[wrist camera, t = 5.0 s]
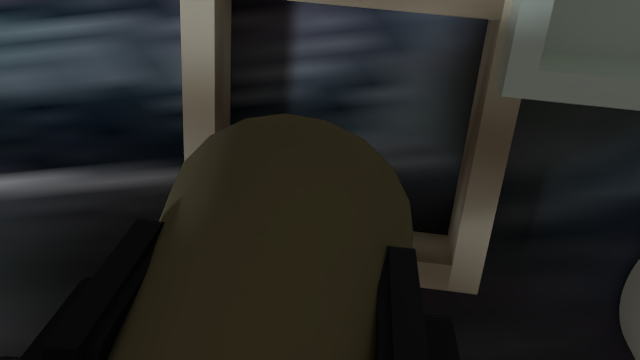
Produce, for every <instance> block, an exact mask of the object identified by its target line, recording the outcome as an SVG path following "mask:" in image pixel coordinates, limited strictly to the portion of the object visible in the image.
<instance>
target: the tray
mask: <svg viewBox="0 0 640 360" xmlns="http://www.w3.org/2000/svg"><path fill="white" fill-rule="evenodd" d="M495 85H496V87H497V89H498V91H499V93H500V95H501V97H511V98H521V99H530V100H540V101H550V102H560V103H569V104H579V105H589V106H598V107H608V108H618V109H627V110H637V111H640V0H513V1H512V6H511V11H510V16H509V21H508V26H507V30H506V35H505V40H504V45H503V50H502V55H501V60H500V65H499V70H498V75H497V80H496V84H495Z"/></svg>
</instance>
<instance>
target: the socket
mask: <svg viewBox="0 0 640 360" xmlns="http://www.w3.org/2000/svg"><path fill="white" fill-rule="evenodd" d="M289 1H299V2H310V3H320V4H331V5H342V6H352V7H363V8H373V9H384V10H394V11H405V12H416V13H426V14H437V15H447V16H458V17H469V18H479V19H489V20H488V25H487V31H486V36H485V41H484V47H483V52H482V57H481V62H480V68H479V73H478V78H477V83H476V89H475V94H474V99H473V105H472V110H471V115H470V120H469V126H468V131H467V136H466V141H465V147H464V152H463V157H462V163H461V168H460V173H459V178H458V184H457V189H456V194H455V199H454V205H453V210H452V215H451V221H450V226H449V231H448V235H441V234H432V233H424V232H415V231H413V235H414V238H413V245H412V248H414V249H415V250H416V257H417V265H418V273H419V281H420V287H421V288H429V289H437V290H445V291H453V292H461V293H469V294H478V289H479V285H480V280H481V276H482V271H483V267H484V263H485V258H486V254H487V249H488V245H489V240H490V236H491V231H492V227H493V223H494V218H495V214H496V209H497V205H498V200H499V196H500V191H501V187H502V183H503V178H504V174H505V169H506V165H507V160H508V156H509V151H510V147H511V143H512V138H513V134H514V129H515V125H516V120H517V116H518V111H519V107H520V103H521V98H511V97H501V95H500V93H499V91H498V89H497V87H496V85H495V84H496V80H497V75H498V70H499V65H500V60H501V55H502V50H503V45H504V40H505V35H506V30H507V26H508V21H509V16H510V11H511V6H512V1H513V0H289ZM180 15H181V54H182V93H183V132H184V161H185V160H186V159H187V158H188V157H189V156H190V155H191V154H192V153H193V152H194V151H195V150H196V149H197V148H198V147H199V146H200V145H201V144H202V143H203V142H204V141H205V140H206V139H207V138H208V137H209V136H210V135H212V134H214V133H216V132H218V131H221V130H223V129H225V128H227V127H229V126H230V95H231V0H180Z"/></svg>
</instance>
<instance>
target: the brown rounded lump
mask: <svg viewBox="0 0 640 360" xmlns="http://www.w3.org/2000/svg"><path fill="white" fill-rule="evenodd" d="M159 222H164V224H163V227H162V229H161V231H160V232H159V235H158V238H157V242H156V245H155V248H154V251H153V255H152V258H151V261H150V264H149V267H148V270H147V273H146V275H145V277H144V279H143V281H142V283H141V285H140V287H139V290H138V292H137V294H136V296H135V298H134V300H133V302H132V305H131V307H130V309H129V311H128V313H127V315H126V317H125V320H124V322H123V324H122V326H121V328H120V330H119V332H118V335H117V337H116V339H115V341H114V344H113V346H112V349H111V351H110V354H109V356H108V359H107V360H376V332H377V296H378V284H379V280H380V276H381V272H382V268H383V264H384V261H385V257H386V254H387V253H388V246H395V247H405V248H412V245H413V238H414V235H413V226H412V217H411V208H410V201H409V199H408V197H407V195H406V193H405V191H404V189H403V187H402V185H401V183H400V181H399V179H398V177H397V175H396V173H395V171H394V169H393V167H392V166H391V165H390V164H389V163H388V162H387V161H386V160H385V159H384V158H383V157H382V156H381V155H380V154H379V153H378V152H377V151H376V150H375V149H374V148H373V147H372V146H371V145H370V144H368V143H367V142H366V141H365V140H364V139H362V138H360V137H358V136H356V135H354V134H353V133H351V132H349V131H347V130H345V129H343V128H341V127H339V126H337V125H335V124H333V123H331V122H329V121H326V120H321V119H315V118H309V117H304V116H298V115H292V114H287V113H285V114H277V115H270V116H262V117H254V118H246V119H243V120H241V121H239V122H237V123H235V124H233V125H231V126H229V127H227V128H225V129H223V130H221V131H218V132H216V133H214V134H212V135H210V136H209V137H208V138H207V139H206V140H205V141H204V142H203V143H202V144H201V145H200V146H199V147H198V148H197V149H196V150H195V151H194V152H193V153H192V154H191V155H190V156H189V157H188V158H187V159H186V160H185V161H184V163H183V165H182V167H181V169H180V172H179V174H178V176H177V178H176V181H175V183H174V185H173V187H172V189H171V192H170V194H169V197H168V199H167V202H166V204H165V207H164V209H163V212H162V215H161V217H160V220H159Z"/></svg>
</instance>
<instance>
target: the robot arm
mask: <svg viewBox="0 0 640 360" xmlns="http://www.w3.org/2000/svg"><path fill="white" fill-rule="evenodd" d="M163 224H164V222H159V221H149V220H137V221H136V222H135V223H134V224H133V225H132V227H131V228H130V229H129V231H128V232H127V233H126V235H125V236H124V237H123V238H122V240H121V241H120V242H119V244H118V245H117V246H116V248H115V249H114V250H113V252H112V253H111V254H110V256H109V257H108V258H107V259H106V261H105V262H104V263H103V265H102V266H101V267H100V269H99V270H98V271H97V273H96V274H95V275H94V276H93V278H90V277H88V278H84V279H83V280H82V281H81V282H80V283H79V284H78V285H77V287H76V288H75V289H74V290H73V292H72V293H71V294H70V295H69V297H68V298H67V299H66V301H65V302H64V303H63V304H62V306H61V307H60V308H59V309H58V311H57V312H56V313H55V315H54V316H53V317H52V318H51V320H50V321H49V322H48V323H47V325H46V326H45V327H44V329H43V330H42V331H41V332H40V334H39V335H38V336H37V337H36V339H35V340H34V341H33V342H32V344H31V345H30V346H29V348H28V349H27V350H26V351H25V353H24V354H23V355H22V356H21V358H19V357H8V356H5V357H0V360H107V359H108V356H109V354H110V351H111V349H112V346H113V344H114V341H115V339H116V337H117V335H118V332H119V330H120V328H121V326H122V324H123V322H124V320H125V317H126V315H127V313H128V311H129V309H130V307H131V305H132V302H133V300H134V298H135V296H136V294H137V292H138V290H139V287H140V285H141V283H142V281H143V279H144V277H145V275H146V273H147V270H148V267H149V264H150V261H151V258H152V255H153V251H154V248H155V245H156V242H157V238H158V235H159V232H160V231H161V229H162V227H163ZM376 360H460V358H459V353H458V348H457V342H456V337H455V332H454V327H453V322H452V319H451V318H450V317H445V316H436V315H427V314H423V305H422V297H421V289H420V281H419V273H418V265H417V257H416V250H415V249H414V248H405V247H395V246H388V253H387V254H386V257H385V261H384V264H383V268H382V272H381V276H380V280H379V284H378V296H377V332H376Z"/></svg>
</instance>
